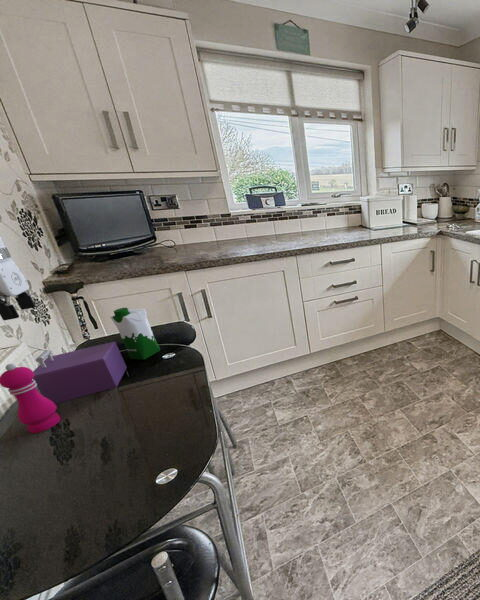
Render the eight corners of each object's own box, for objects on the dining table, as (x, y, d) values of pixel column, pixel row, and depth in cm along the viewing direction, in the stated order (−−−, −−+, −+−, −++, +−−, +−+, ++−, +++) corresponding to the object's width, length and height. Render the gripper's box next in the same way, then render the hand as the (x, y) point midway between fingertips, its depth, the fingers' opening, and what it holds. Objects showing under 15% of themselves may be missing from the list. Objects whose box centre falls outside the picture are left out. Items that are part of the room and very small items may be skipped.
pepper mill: (26, 438, 87) (-14, 375, 80) (27, 426, 91) (-11, 366, 84) (63, 423, 92) (28, 362, 84) (62, 412, 96) (29, 354, 89)
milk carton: (125, 360, 124) (104, 312, 117) (147, 348, 133) (129, 302, 125) (143, 361, 122) (123, 312, 115) (165, 349, 130) (146, 302, 123)
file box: (48, 405, 100) (32, 378, 97) (66, 383, 112) (52, 358, 108) (116, 386, 107) (104, 360, 104) (126, 367, 119) (116, 343, 115)
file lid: (28, 379, 96) (20, 366, 95) (48, 359, 108) (42, 346, 106) (104, 360, 104) (98, 347, 102) (116, 343, 115) (110, 331, 114)
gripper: (-10, 260, 85) (23, 319, 91) (23, 249, 99) (50, 302, 105) (-52, 265, 82) (-15, 327, 88) (-11, 254, 96) (18, 307, 102)
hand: (20, 313), depth 97 cm, fingers open, 9 cm apart
